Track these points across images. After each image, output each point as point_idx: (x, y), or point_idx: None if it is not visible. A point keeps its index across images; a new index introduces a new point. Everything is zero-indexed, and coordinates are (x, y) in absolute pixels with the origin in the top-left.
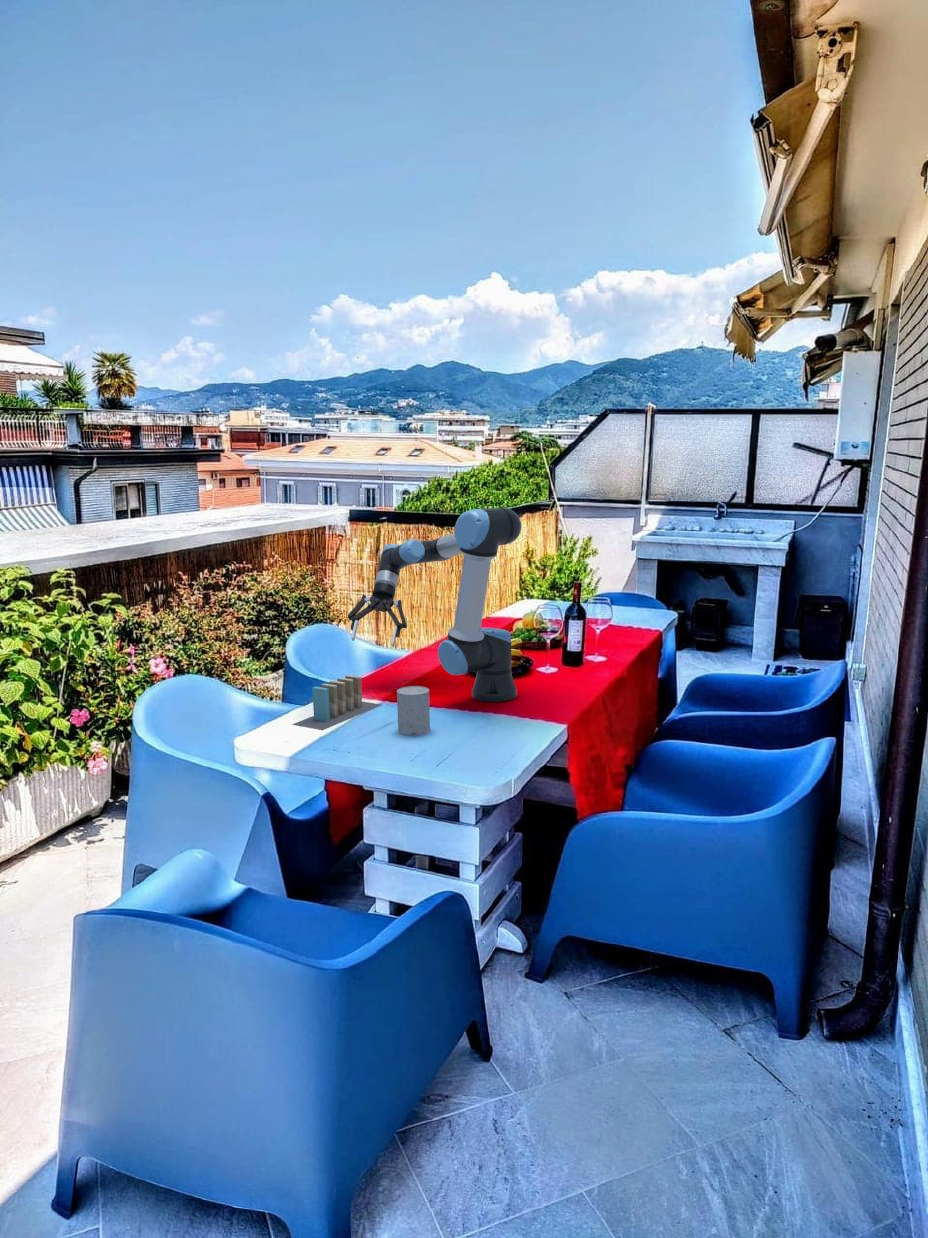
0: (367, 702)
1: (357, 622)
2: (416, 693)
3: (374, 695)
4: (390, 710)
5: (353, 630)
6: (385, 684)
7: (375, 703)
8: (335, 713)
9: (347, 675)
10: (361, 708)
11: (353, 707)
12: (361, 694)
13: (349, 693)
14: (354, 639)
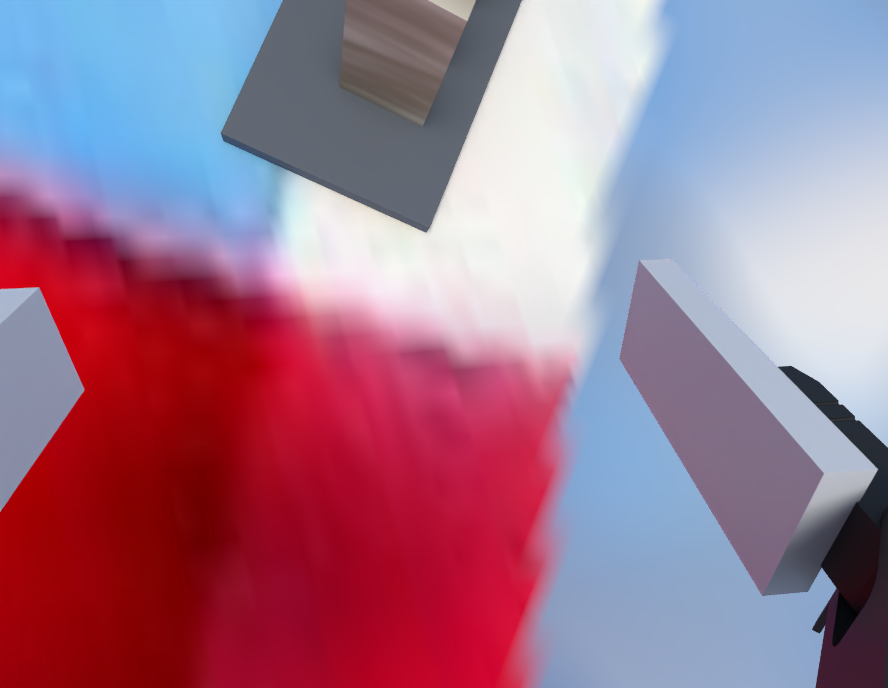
0: (331, 177)
1: (784, 489)
2: None
3: (347, 402)
4: (163, 87)
5: (717, 319)
6: (342, 674)
7: (276, 158)
8: None
9: (470, 6)
10: (334, 54)
11: None
12: (343, 44)
13: None
14: (627, 362)
